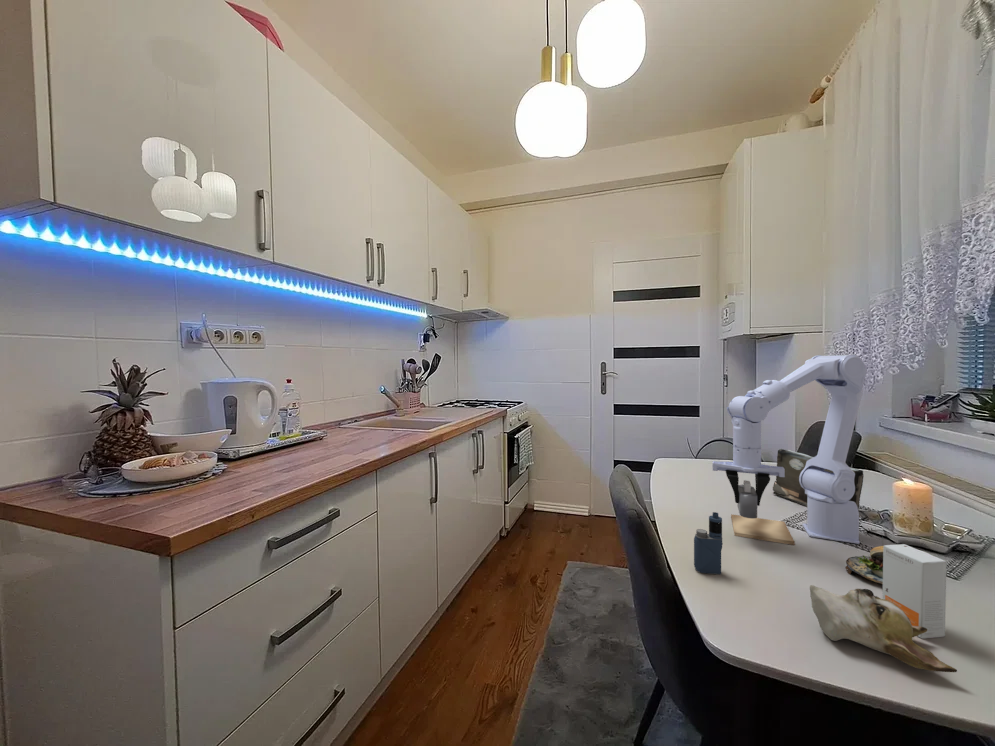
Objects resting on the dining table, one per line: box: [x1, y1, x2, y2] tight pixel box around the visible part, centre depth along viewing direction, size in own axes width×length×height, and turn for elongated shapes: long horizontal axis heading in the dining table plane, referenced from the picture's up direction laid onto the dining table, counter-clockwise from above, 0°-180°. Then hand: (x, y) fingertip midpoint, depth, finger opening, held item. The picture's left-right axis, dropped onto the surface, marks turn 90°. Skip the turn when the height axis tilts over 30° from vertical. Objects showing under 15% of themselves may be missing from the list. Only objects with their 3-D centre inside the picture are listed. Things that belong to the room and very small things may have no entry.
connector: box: [737, 479, 758, 518], centre depth 96 cm, size 4×10×7 cm, turn 153°
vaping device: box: [693, 511, 724, 575], centre depth 82 cm, size 3×5×12 cm, turn 78°
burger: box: [844, 536, 884, 585], centre depth 78 cm, size 12×12×8 cm
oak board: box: [730, 513, 795, 546], centre depth 101 cm, size 12×13×1 cm
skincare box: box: [881, 543, 947, 640], centre depth 64 cm, size 6×4×12 cm
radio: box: [772, 448, 864, 517], centre depth 118 cm, size 23×9×15 cm, turn 8°
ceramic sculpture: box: [809, 585, 958, 673], centre depth 60 cm, size 11×9×15 cm
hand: (747, 503), depth 96 cm, fingers closed on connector, 3 cm apart
